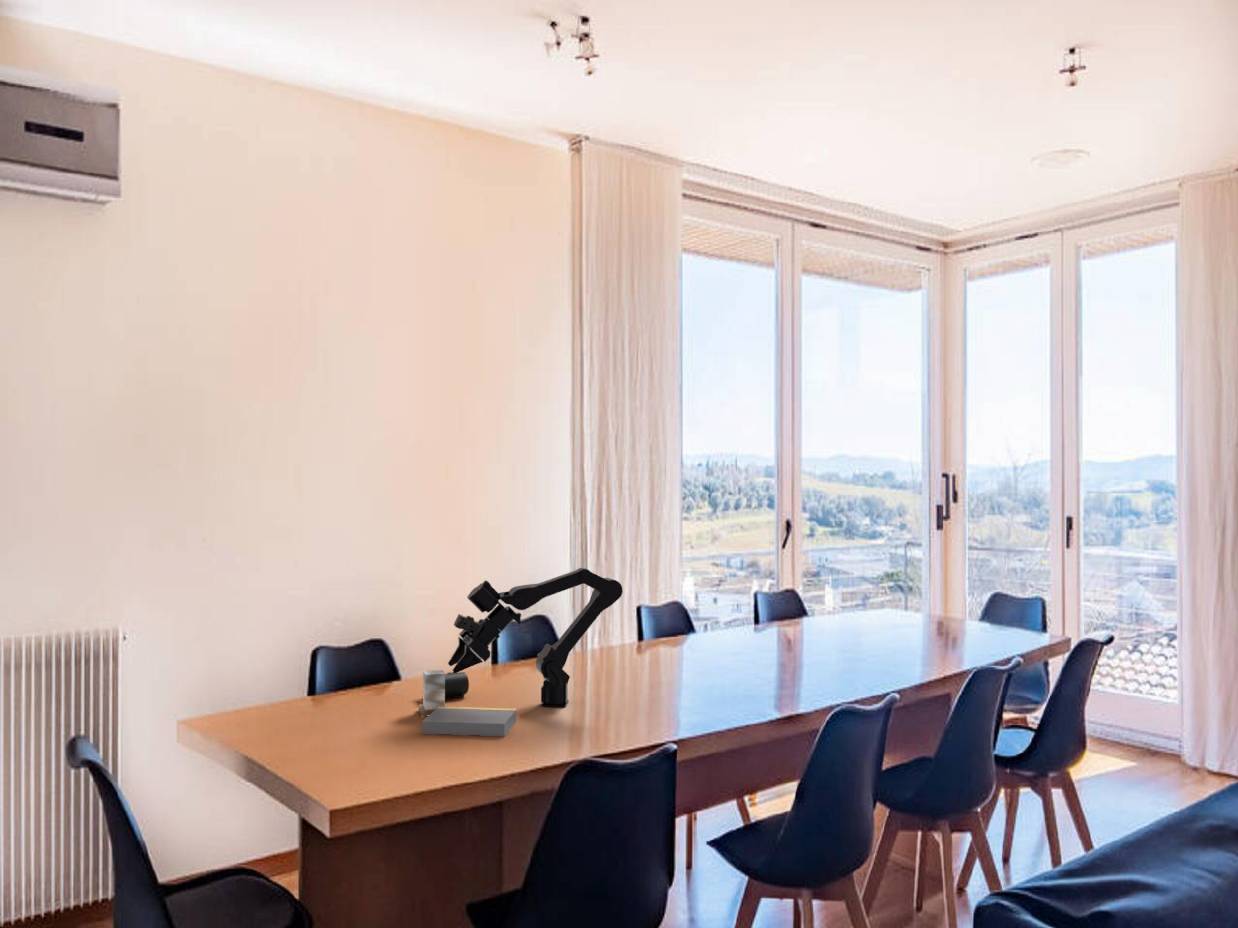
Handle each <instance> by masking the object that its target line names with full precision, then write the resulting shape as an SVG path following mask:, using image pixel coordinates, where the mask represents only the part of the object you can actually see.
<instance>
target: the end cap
mask: <svg viewBox="0 0 1238 928" xmlns="http://www.w3.org/2000/svg"><path fill="white" fill-rule="evenodd" d="M469 689H470V681H469V677H468V675H467V673H466V672H464V671H463V672H462V671H459V672H457V673H454V672H453V671H452V672H451V671H449V672H447V673H445V700H446V699H453V697H454V698H460V697H459V696H461V697H464V696H465V695H466V694H468V692H469Z"/></svg>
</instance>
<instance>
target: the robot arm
mask: <svg viewBox="0 0 1238 928" xmlns="http://www.w3.org/2000/svg"><path fill="white" fill-rule="evenodd" d="M583 584H584V585H586V586H588V587H590V588H592V589H593V591H592V593H591V595H590V598H589V601H588V602H587V603H586V605H585V606H584V608H583V609H582V610H581V611H580V613H579V614H577V616H576V617H575V619H574V620H573V621H572V622H571V624H570V625H569V626H568V627H567V628H566V630H565V631H564V632H563V633H562V635H561V636H560V637H559V638H558V641H556V642H555V643H554V644H552V645H551V644H548V643H545V645H543V648H542V650H540V652H539V653H537V654H536V655H537V658H536V660H535V668H536V669H537V671H538V672H539V673H540V674H541V675H542V677H543V679H544V680H543V681H542V683H543V685H542V686H541V688H540V703H541V706H542V707H556V708H557V707H559V708H560V707H563V708H566V707H567V705H568V704H569V699H568V695H569V694H568V692H569V690H568V688H569V687H568V685H569V681H570V679H571V676H570V675H569V674H568V673H567V672H566V671H565V670H564V667H565V665H566V664H567V660H568V659H569V658H568V657H569V655H570V653H571V651H572V650H573V648H574V647H575V646H576V645H577V643H579V641H580V640H581V638H582V637H583V636H584V635H585V633H586V632H587V631H588V630H589V629H590V627H591V626H592V625H593V623H594V622H595V621H596V620H597V619H598V617H599V616H600V614H602V612H604V611H605V610H607V609H608V608H609V607H611V606H612V605H614V604H615V603H616V602H617V601H618V600H619V599H620V598H621V597H622V595H623V585H622V584H621V583H620V582H619V581H618V580H616V579H613V578H609V577H602V576H601V575H598V574H595V573H594V572H593V571H591V570H590V569H587V568H584V567H579V568H577V569H576V570H573V571H570V572H568V573H564V574H562V575H559V576H556V577H553V578H550V579H548V580H545V581H541V582H538V583H529V584H523V585H517V586H514V587H512V588H510V589H509V591H501V592H498V591H497V590H496V589H495V588H494V587H493V586H492V585H491V583H490V582H489V581H488V580H484V581H483V582H482V583H480V584H479V585H477V586H476V587H474V588H473V589H472V590H471V591H470V592H469V594H468V595H467V596H466V598H467V600H469V602H470V603H472V605H473V606H475V607H476V608H477V609H478V610H479V611H480V613H482V614H483V613H485V612H486V613H489V614H488V615H487V616H486V617H484V619H483V618H480V619H479V620H478V621H476V620H475V618H474V617H473V616H470V615H467V616H464V615H463V614H461V613H459V614H458V615H457V616H456V619H455V620H454V623H453V626H454V627H455V628H457V629H459V630H461V631H460V632H459V634H458V635H459V636H458V645H457V647H456V648H455V651H454V653H453V654H452V656H451V657H450V658H449V661H448V663H447V664H448V665H449V666H450V667H452V666H454V667H453V668H452V673H453V672H454V673H460V672H462V671H464V670H466V669H469V668H471V667H473V666H476V665H478V664H481V663H483V662H486V661H488V660H489V659H490V657H491V651H490V647H489V646H490V645H491V644H492V643H493V642H494V641H495V639H497V640H498V639H499V638H500V637H501V634H502V632H503V631H505V630H506V628H507V627H508V626H509V625H510V624H511V623H512V622H513V621H514V622H515V623H517V625H521V623H522V620H521V618H522V613H521V612H515V611H514V609H516V610H517V611H525V610H527V609H529V608H531V607H532V606H535V605H536V604H537V603H539V602H540V601H541V600H544V599H545V598H547V597H550V596H553V595H556V594H558V593H561V592H564V591H566V590H569V589H572V588H575V587H577V586H578V587H579V586H580V585H583ZM500 601H501V602H503V604H506V605H508V606H504V605H503V604H502V603H501V602H500ZM509 605H510V606H511V607H512V608H511V607H510V606H509ZM513 608H514V609H513Z"/></svg>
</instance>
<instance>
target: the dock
mask: <svg viewBox="0 0 1238 928" xmlns="http://www.w3.org/2000/svg"><path fill="white" fill-rule="evenodd" d="M516 722H517V708H500V707H499V708H498V707H494V708H493V707H466V706H465V707H464V706H462V707H461V706H448V707H438V708H437V709H436V710H435V711H434V712H432V713H431V714H430V715H429V716H428V717H424V719H423V720H422V721H421V734H422V733H424V734H423V735H437V734H452V735H451V736H468V735H480V736H479V737H500V738H501V737H502V738H503V737H504V738H505V737H506V735H507V734H508V733H509V732H510V730H511V727H512V728H513V726H514V725H515V724H516Z"/></svg>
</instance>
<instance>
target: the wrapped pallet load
mask: <svg viewBox="0 0 1238 928" xmlns="http://www.w3.org/2000/svg"><path fill="white" fill-rule="evenodd" d="M445 674H446V672H445V671H444V670H443V669H434V670H432V669H431V670H423V674H422V675H423V681H422V688H423V689H422V693H423V695H422V703H421V704H419V705H418V712H419V711H420V712H419V714H420V713H421V714H420V716H427V715H430V714H431V713H432V712H434V711H435V710H436V709H437V708H438V707H449V706H448V705H447V702H446V701H445V700H446V699H445Z"/></svg>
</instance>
